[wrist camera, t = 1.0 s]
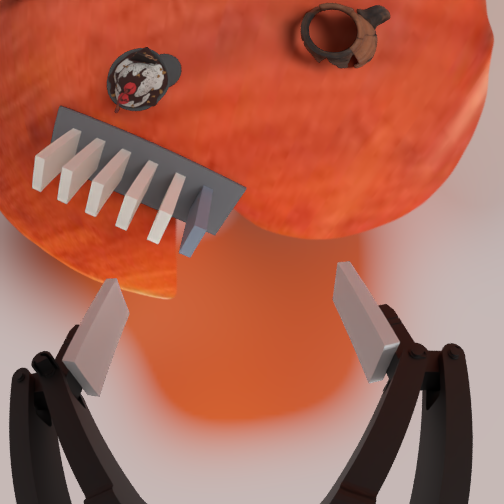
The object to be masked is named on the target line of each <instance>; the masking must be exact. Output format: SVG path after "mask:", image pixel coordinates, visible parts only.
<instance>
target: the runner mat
mask: <svg viewBox="0 0 504 504" xmlns="http://www.w3.org/2000/svg"><path fill="white" fill-rule="evenodd" d="M73 128H74V129H77V130H79V131H81V135H80V139H79V142H78V146H77V150H76V154H78V153H79V152H80V151H81V150H82V149H84V148H85V147H86V146H87V145H88V144H90V143H91V142H92V141H93V140H95V139H96V138H99V139H101V140H104V141H106V142H105V145H104V148H103V151H102V154H101V158H100V161H99V164H98V168H97V170H96V171H95V172H94V173H93V174H92V175H91V176H90V177H89V179H88V180H90V181H92V180H93V179H94V178H95V177H96V176H97V175H98V173H99V172H100V171H101V170H102V169H103V168H104V167H105V166H106V165H107V164H108V163H109V161H110V160H111V159H112V158H113V157H114V156H115V155H116V154H117V153H118V152H119V151H120V150H121V149H125V150H127V151H129V152H131V155H130V158H129V160H128V163H127V166H126V168H125V171H124V174H123V177H122V180H121V181H120V182H119V184H118V185H117V187H116V188H115V189H114V191H115V192H117V193H120V194H122V195H124V196H125V194H126V193H127V191H128V190H129V188H130V187H131V185H132V184H133V182H134V181H135V179H136V178H137V176H138V175H139V173H140V172H141V170H142V169H143V167H144V166H145V165H146V163H147V162H148V160H150V161H152V162H154V163H157V164H158V166H157V169H156V171H155V173H154V175H153V178H152V180H151V182H150V185H149V187H148V189H147V192H146V193H145V195H144V197H143V199H142V201H141V203H142V204H145V205H147V206H149V207H151V208H154V209H156V210H159V208H160V205H161V203H162V201H163V198H164V196H165V194H166V192H167V190H168V188H169V186H170V184H171V182H172V180H173V178H174V176H175V174H176V173H179V174H181V175H183V176H185V177H186V178H185V181H184V183H183V186H182V189H181V192H180V194H179V197H178V200H177V203H176V206H175V209H174V212H173V215H172V217H174V218H176V219H179V220H181V221H183V222H186V221H187V217H188V214H189V210H190V208H191V206H192V205H193V203H194V201H195V199H196V197H197V196H198V194H199V192H200V190H201V189H202V187H203V185H204V186H206V187H208V188H211V189H213V193H212V200H211V206H210V212H209V219H208V225H207V231H206V232H208V233H211V234H213V235H216V233H217V232H218V230H219V229H220V227H221V226H222V224H223V223H224V221H225V220H226V218H227V217H228V215H229V214H230V212H231V211H232V209H233V208H234V206H235V205H236V203H237V202H238V201H239V199H240V198H241V196H242V195H243V193H244V192H245V190H246V187H244V186H242V185H240V184H238V183H236V182H234V181H232V180H230V179H228V178H226V177H224V176H222V175H220V174H218V173H216V172H214V171H212V170H210V169H208V168H206V167H204V166H202V165H200V164H198V163H195V162H193V161H191V160H189V159H187V158H185V157H183V156H181V155H178V154H176V153H174V152H172V151H170V150H168V149H165V148H163V147H161V146H159V145H157V144H154V143H152V142H150V141H147V140H145V139H143V138H141V137H138V136H136V135H134V134H131V133H129V132H127V131H124V130H122V129H120V128H117V127H115V126H112V125H110V124H107V123H105V122H102V121H100V120H97V119H95V118H92V117H90V116H87V115H85V114H82V113H80V112H77V111H74V110H72V109H69V108H66V107H63V106H59V110H58V114H57V118H56V122H55V126H54V130H53V135H52V140H51V143H53V142H54V141H55V140H57V139H58V138H60V137H61V136H62V135H64V134H65V133H67V132H68V131H70V130H71V129H73ZM76 154H75V155H76Z"/></svg>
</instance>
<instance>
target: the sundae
mask: <svg viewBox="0 0 504 504" xmlns="http://www.w3.org/2000/svg"><path fill="white" fill-rule="evenodd" d="M180 75H181V64H180V62H179V61H178V59H177V58H175V57H174V56H172V55H169V54H160V55H159V54H158V53H156V52H155V51H153V50H151V49H149V48H148V47H145V48H138V49H133V50H130V51H127V52H125V53H124V54H122V55H121V56H119V57H118V58H117V59H116V60H115V61H114V63H113V64H112V66H111V68H110V70H109V74H108V78H107V90H108V94H109V96H110V98H111V99H112V101H113V102H114V103H115V104H116V105H117V106H116V107H117V108H116V109H115V113H117V112H118V111H119V107H121V108H123V109H126V110H130V111H141V110H145V109H148V108H150V107H152V106H155V105H156V104H157V102H158V101H159V100H160V99H161V98H162V97H163V96H164V95H165V94H166V92H167V90H168V87H170V86H172V85H174V84H175V83H176V82H177V81H178V79H179V78H180Z"/></svg>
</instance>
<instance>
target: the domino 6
mask: <svg viewBox="0 0 504 504" xmlns="http://www.w3.org/2000/svg"><path fill="white" fill-rule="evenodd" d="M212 193H213V189H211V188H208V187H206V186H204V185H203V187H202V189H201V190H200V192H199V194H198V196H197V197H196V199H195V201H194V203H193V205H192V206H191V208H190V210H189V214H188V217H187V221H186V225H185V229H184V234H183V237H182V242H181V246H180V250H179V253H180V254H183V255H185V256H188V257H191V255H192V253H193V252H194V250H195V249H196V247H197V245H198V244H199V242H200V240H201V239H202V237H203V236H204V234H205V232H206V231H207V225H208V219H209V212H210V206H211V200H212Z"/></svg>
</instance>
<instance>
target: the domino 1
mask: <svg viewBox="0 0 504 504" xmlns="http://www.w3.org/2000/svg"><path fill="white" fill-rule="evenodd" d="M80 135H81V131H79V130H77V129H74V128H73V129H71V130H70V131H68V132H67V133H65V134H64V135H62V136H61V137H60V138H58V139H57V140H55V141H54V142H53V143H51V144H50V145H48V146H47V147H46V148H44V149H43V150H42V151H41V152H39V153H38V154H37V155H36V156H35V164H34V172H33V182H32V188H33V189H35V190H38V191H40V192H41V191H42V190H43V189H44V188H45V187H46V186H47V185H48V184H49V183H50V182H51V181H52V180H53V179H54V178H55V177H56V176H57V175H58V174H59V173H60V172H61V171H62V167H63V166H64V165H65V164H66V163H67V162H69V161H70V160H71V159H72V158H73V157H74V156H75V154H76V150H77V146H78V142H79V139H80Z"/></svg>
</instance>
